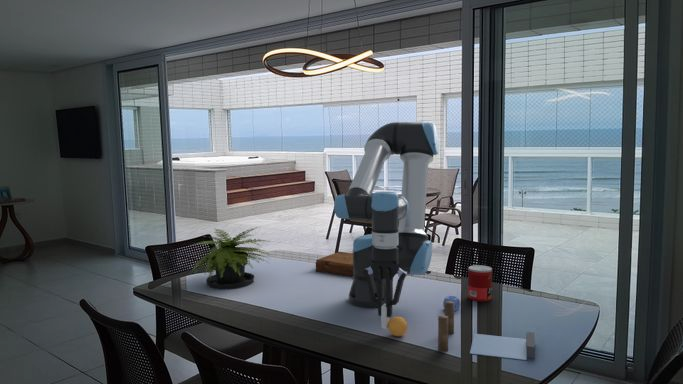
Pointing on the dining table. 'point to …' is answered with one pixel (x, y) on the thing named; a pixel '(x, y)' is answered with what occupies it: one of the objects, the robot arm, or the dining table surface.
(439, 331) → the post
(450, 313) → the post
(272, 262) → the dining table surface
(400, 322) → the ball
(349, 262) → the brown wooden block
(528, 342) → the stopper wall
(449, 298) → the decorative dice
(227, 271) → the fern plant
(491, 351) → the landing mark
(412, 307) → the dining table surface
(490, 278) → the canned food
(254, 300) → the dining table surface
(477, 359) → the dining table surface
